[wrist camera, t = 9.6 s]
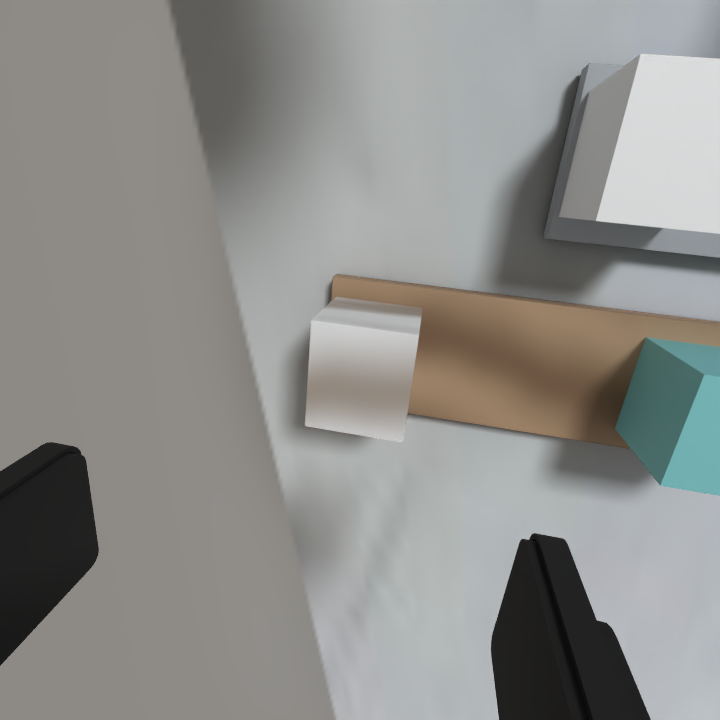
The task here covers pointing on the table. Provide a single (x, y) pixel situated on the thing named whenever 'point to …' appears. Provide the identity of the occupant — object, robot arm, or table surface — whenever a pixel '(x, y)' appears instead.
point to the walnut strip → (476, 360)
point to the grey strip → (642, 158)
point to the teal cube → (675, 414)
